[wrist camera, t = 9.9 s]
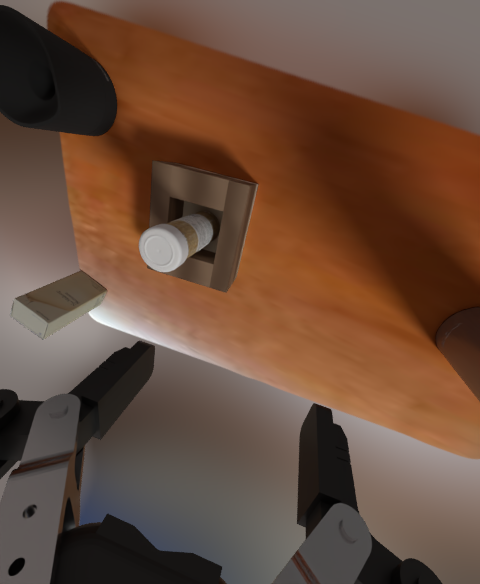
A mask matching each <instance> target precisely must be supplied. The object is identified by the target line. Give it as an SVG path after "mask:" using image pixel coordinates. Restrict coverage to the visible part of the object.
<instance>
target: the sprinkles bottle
mask: <svg viewBox="0 0 480 584" xmlns="http://www.w3.org/2000/svg"><path fill="white" fill-rule="evenodd" d="M219 232H220V224H219V221H218V219H217V217H216V216H215V215H214V214H213V213H211V212H209V211H199V212H197V213H195V214H191V215H188V216H185V217H182V218H179V219H177V220H174V221H171V222H170V223H167V224H159V225H156V226H153V227H151V228H149V229H147V230H146V231H144V232H143V234H142V235H141V237H140V240H139V251H140V254H141V256H142V258H143V260H144V261H145V263H146V264H147V265H148V266H150V267H151V268H152V269H154V270H156V271H159V272H170V271H173V270H175V269H176V268H178V267H179V266H180V265H182V264H183V263H184V262H185V260H186V259H187V258H188V257H190V256H192V255H193V254H194V253H196V252H198V251H199V250H201V249H202V248H203V247H205V246H206V245H207V244H209V242H212V241H213V240H215V239H216V238H217V236H218V235H219Z"/></svg>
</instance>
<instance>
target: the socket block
mask: <svg viewBox="0 0 480 584" xmlns="http://www.w3.org/2000/svg"><path fill="white" fill-rule="evenodd" d="M257 188H258V184H256V183H252V182H248V181H244V180H240V179H236V178H232V177H229V176H225V175H221V174H217V173H213V172H209V171H205V170H202V169H198V168H194V167H190V166H186V165H182V164H178V163H173V162H163V161H154V160H153V161H152V182H151V203H150V223H149V228H151V227H153V226H156V225H159V224H167V223H170V222H171V221H174V220H177V219H179V218H182V217H185V216H188V215H191V214H195V213H197V212H199V211H209V212H211V213H213V214H214V215H215V216H216V217H217V219H218V221H219V224H220V232H219V235H218V236H217V238H216V239H215V240H213V241H212V242H209V244H207V245H206V246H205V247H203V248H202V249H201V250H199V251H198V252H196V253H194V254H193V255H192V256H190V257H188V258H187V259H186V260H185V262H184V263H183V264H182V265H180V266H179V267H178V268H176V269H175V270H173V271H170V272H161V273H164V274H168V275H171V276H174V277H177V278H180V279H184V280H187V281H190V282H193V283H197V284H200V285H203V286H206V287H210V288H213V289H216V290H219V291H222V292H227V291H228V289H229V288H230V286H231V285H232V283H233V282H234V280H235V279H236V277H237V273H238V268H239V264H240V260H241V256H242V251H243V247H244V243H245V239H246V234H247V230H248V226H249V222H250V217H251V213H252V209H253V205H254V200H255V196H256V192H257ZM147 268H148V269H151V270H154V269H152V268H151V267H150V266H148V265H147ZM155 271H156V270H155ZM158 272H159V271H158Z"/></svg>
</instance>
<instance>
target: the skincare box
mask: <svg viewBox="0 0 480 584" xmlns="http://www.w3.org/2000/svg"><path fill="white" fill-rule="evenodd" d="M106 292H107V290H106V289H105V288H103V287H102V286H101V285H100V284H98V283H97V282H96V281H94V280H93V279H92V278H91V277H89V276H88V275H87V274H85V273H84V272H83V271H79V272H77V273H74V274H72V275H70V276H67V277H65V278H63V279H60V280H58V281H55V282H53V283H51V284H48V285H46V286H43V287H41V288H39V289H36V290H34V291H32V292H29V293H27V294H25V295H22V296H19V297H17V298H15V299H14V301H13V305H12V309H11V313H10V316H11V317H12V318H13V319H15V320H16V321H17V322H19V323H20V324H22V325H23V326H24V327H25V328H27V329H28V330H30V331H31V332H33V333H34V334H35V335H37V336H38V337H40V338H42V340H44V339H46V338H47V337H48V336H50V335H52V334H53V333H55V332H57V331H58V330H60V329H61V328H63V327H65V326H66V325H68V324H70V323H71V322H73V321H75V320H76V319H78V318H79V317H81V316H83V315H84V314H86V313H87V312H89V311H91V310H92V309H94V308H96V307H97V306H99V305H100V304H101V303H102V301H103V299H104V297H105V294H106Z"/></svg>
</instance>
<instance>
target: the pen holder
mask: <svg viewBox="0 0 480 584" xmlns="http://www.w3.org/2000/svg"><path fill="white" fill-rule="evenodd" d="M0 112H1V113H2V114H3V115H4V116H5V117H7V118H8V119H9V120H11V121H12V122H14V123H16V124H18V125H20V126H23V127H28V128H35V129H42V130H50V131H58V132H65V133H72V134H80V135H89V136H98V135H102V134H104V133H106V132H107V131H108V130H109V129H110V128H111V126H112V125H113V123H114V120H115V117H116V113H117V99H116V93H115V89H114V86H113V83H112V81H111V79H110V77H109V76H108V74H107V72H106V71H105V70H104V68H103V67H102V66H101V65H100V64H99V63H98V62H96V61H95V60H94V59H92V58H91V57H89V56H88V55H86V54H85V53H83V52H82V51H80V50H79V49H77V48H76V47H74V46H72V45H71V44H69V43H68V42H66V41H64V40H63V39H61V38H60V37H58V36H56V35H55V34H53V33H52V32H50V31H48V30H47V29H45V28H44V27H42V26H40V25H39V24H37V23H36V22H34V21H32V20H31V19H29V18H28V17H26V16H24V15H23V14H21V13H20V12H18V11H16V10H14V9H12V8H10V7H8V6H4V5H0Z"/></svg>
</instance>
